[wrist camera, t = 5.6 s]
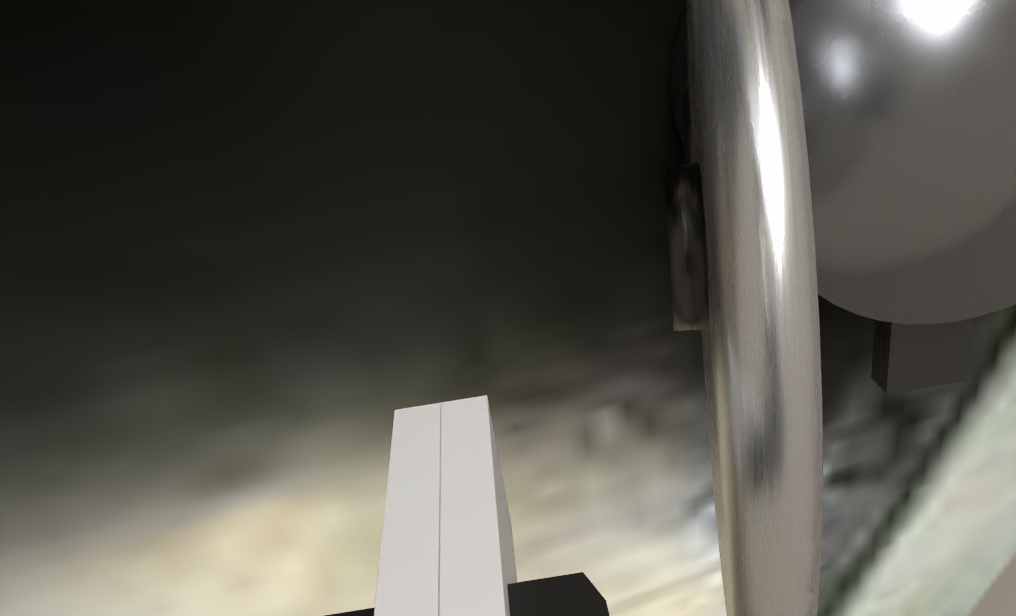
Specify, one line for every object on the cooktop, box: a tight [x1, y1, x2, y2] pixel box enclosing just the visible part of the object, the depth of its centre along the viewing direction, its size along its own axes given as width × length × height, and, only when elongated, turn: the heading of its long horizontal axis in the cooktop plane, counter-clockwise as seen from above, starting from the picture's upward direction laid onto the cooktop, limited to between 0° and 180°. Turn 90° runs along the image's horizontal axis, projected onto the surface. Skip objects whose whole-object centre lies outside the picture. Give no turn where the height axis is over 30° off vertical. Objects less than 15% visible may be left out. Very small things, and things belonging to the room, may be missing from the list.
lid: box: [664, 0, 823, 616], centre depth 18 cm, size 16×16×2 cm
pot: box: [670, 0, 1016, 394], centre depth 29 cm, size 14×21×10 cm, turn 9°
